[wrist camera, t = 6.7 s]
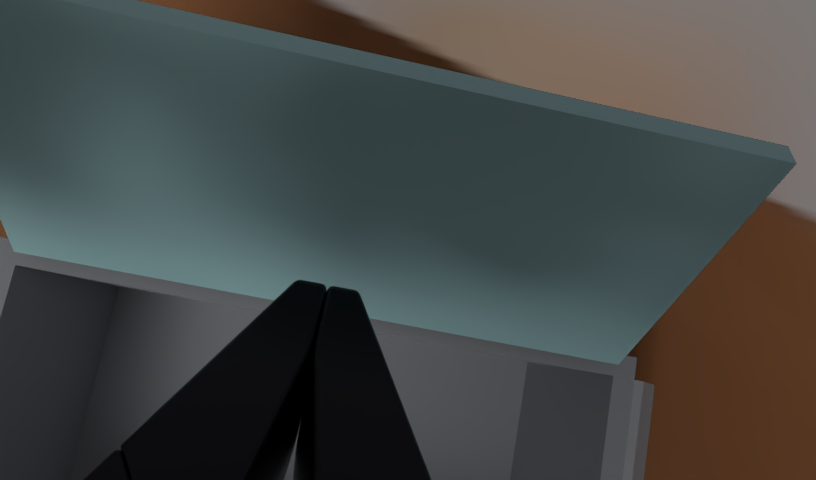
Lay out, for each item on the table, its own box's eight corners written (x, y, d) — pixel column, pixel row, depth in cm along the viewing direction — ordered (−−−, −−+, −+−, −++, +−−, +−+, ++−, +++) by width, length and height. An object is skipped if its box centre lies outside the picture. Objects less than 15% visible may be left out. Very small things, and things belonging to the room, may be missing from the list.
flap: (795, 163, 9) (788, 146, 10) (-109, -37, 8) (-90, -51, 9) (618, 365, 14) (616, 349, 14) (14, 251, 13) (23, 236, 13)
